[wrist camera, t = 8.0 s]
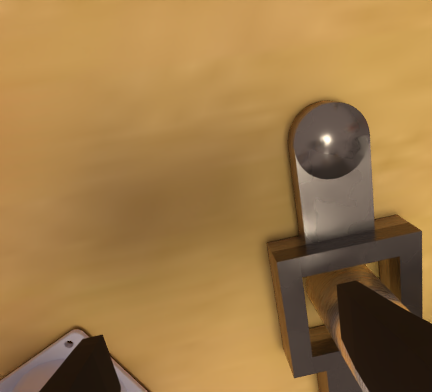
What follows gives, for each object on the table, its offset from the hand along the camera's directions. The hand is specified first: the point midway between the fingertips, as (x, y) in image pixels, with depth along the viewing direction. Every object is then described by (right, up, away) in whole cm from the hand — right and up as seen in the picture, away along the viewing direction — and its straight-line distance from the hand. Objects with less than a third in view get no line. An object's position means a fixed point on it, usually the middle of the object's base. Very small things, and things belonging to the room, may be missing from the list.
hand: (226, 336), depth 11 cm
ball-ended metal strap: (+7, -1, +12) cm, 14 cm away
